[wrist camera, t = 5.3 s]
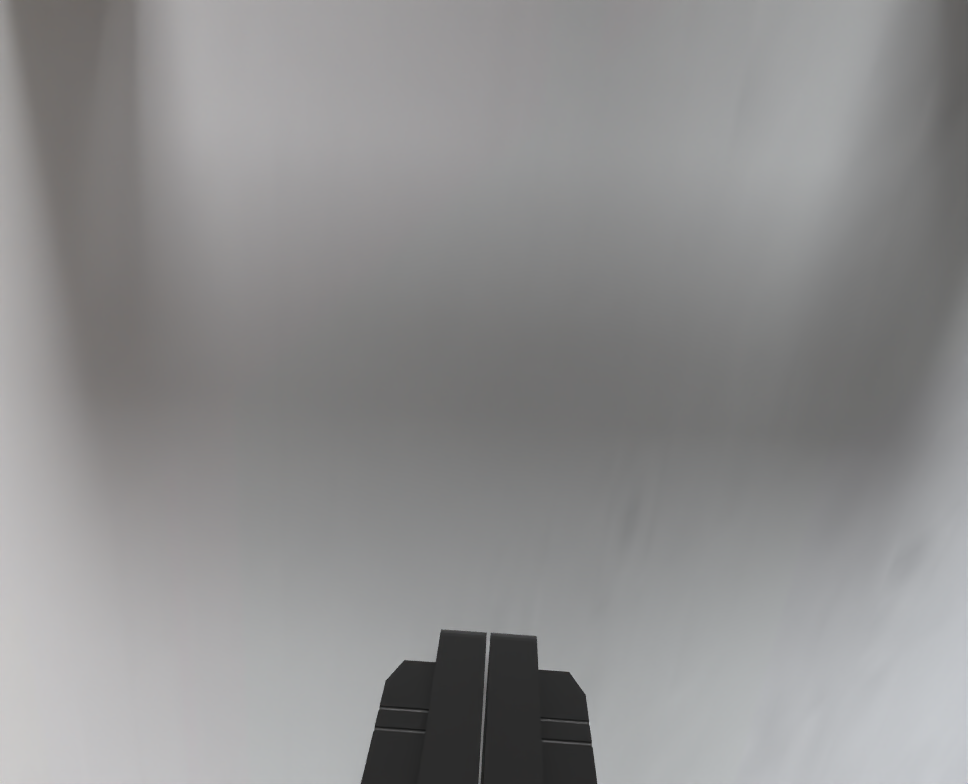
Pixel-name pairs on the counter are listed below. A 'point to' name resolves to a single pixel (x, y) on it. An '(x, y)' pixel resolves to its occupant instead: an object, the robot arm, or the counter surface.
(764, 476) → the counter surface
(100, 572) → the counter surface
